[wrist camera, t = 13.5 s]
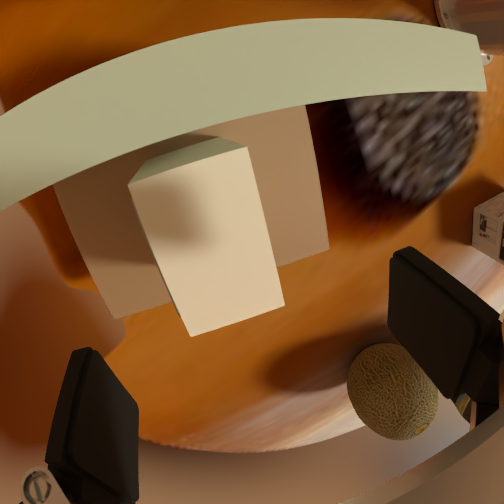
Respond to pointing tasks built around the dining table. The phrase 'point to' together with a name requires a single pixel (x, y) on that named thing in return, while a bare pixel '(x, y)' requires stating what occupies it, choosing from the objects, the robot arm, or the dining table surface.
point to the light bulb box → (490, 228)
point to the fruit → (391, 392)
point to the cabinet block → (208, 233)
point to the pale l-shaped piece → (212, 128)
